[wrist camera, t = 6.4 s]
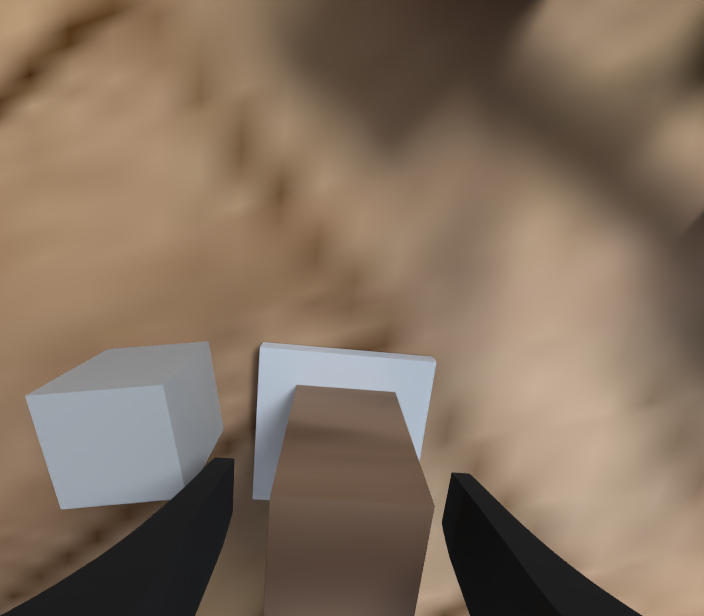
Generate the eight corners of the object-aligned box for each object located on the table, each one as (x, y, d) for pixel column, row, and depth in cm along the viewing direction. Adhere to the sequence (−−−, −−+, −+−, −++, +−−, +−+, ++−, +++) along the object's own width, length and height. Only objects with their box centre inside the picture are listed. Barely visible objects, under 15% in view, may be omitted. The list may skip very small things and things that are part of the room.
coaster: (408, 497, 17) (411, 508, 16) (255, 489, 16) (252, 499, 16) (432, 356, 15) (436, 362, 14) (262, 341, 14) (259, 347, 14)
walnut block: (383, 476, 16) (411, 630, 10) (290, 470, 15) (262, 625, 9) (395, 391, 15) (434, 506, 9) (296, 384, 14) (269, 497, 8)
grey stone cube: (224, 428, 15) (186, 498, 12) (130, 436, 15) (60, 509, 11) (209, 340, 14) (162, 384, 11) (109, 348, 14) (25, 395, 11)
